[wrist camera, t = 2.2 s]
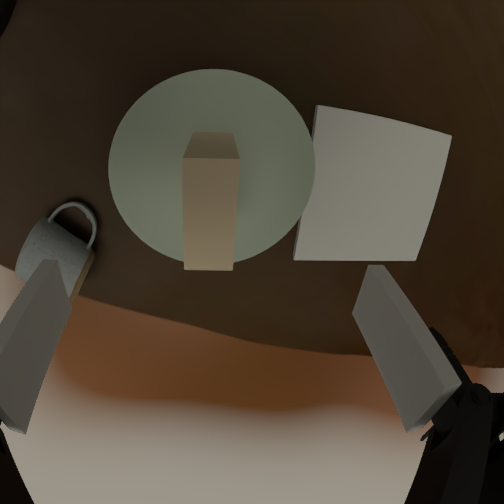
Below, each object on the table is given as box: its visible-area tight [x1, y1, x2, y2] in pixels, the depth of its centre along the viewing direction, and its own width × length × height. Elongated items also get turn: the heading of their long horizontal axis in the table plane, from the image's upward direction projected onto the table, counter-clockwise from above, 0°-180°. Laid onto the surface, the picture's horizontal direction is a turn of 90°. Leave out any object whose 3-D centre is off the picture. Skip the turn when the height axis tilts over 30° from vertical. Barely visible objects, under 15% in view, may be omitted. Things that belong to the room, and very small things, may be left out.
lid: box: [108, 69, 315, 270], centre depth 21 cm, size 17×17×9 cm
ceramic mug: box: [15, 201, 97, 302], centre depth 30 cm, size 11×8×8 cm
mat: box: [293, 105, 452, 261], centre depth 34 cm, size 18×18×1 cm
